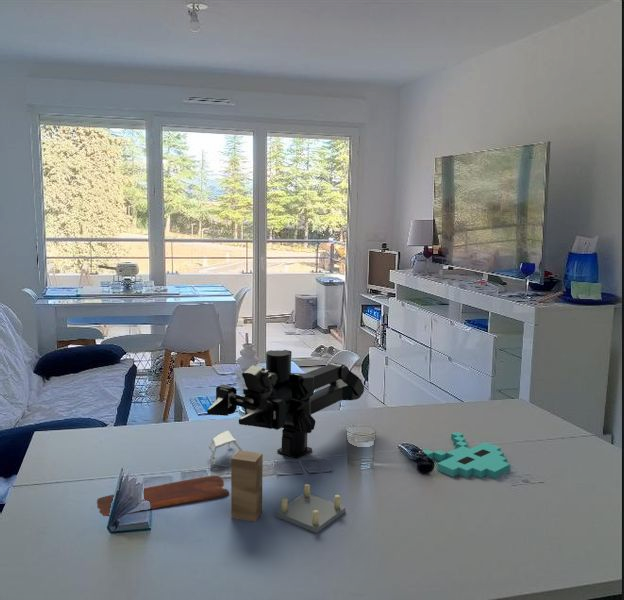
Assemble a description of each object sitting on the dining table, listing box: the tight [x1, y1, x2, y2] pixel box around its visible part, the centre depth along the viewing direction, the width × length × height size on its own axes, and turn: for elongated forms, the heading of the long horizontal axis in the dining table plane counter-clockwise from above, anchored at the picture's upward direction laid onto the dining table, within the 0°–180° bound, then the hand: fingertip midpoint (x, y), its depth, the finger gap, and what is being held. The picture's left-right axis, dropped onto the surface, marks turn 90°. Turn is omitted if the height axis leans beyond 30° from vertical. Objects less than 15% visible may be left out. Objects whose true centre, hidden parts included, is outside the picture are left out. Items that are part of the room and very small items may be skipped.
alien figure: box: [422, 431, 511, 480], centre depth 148 cm, size 20×2×20 cm
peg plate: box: [275, 483, 346, 534], centre depth 121 cm, size 10×10×4 cm
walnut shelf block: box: [230, 449, 264, 523], centre depth 120 cm, size 4×5×12 cm
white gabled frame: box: [208, 430, 244, 465], centre depth 148 cm, size 12×8×5 cm
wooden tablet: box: [96, 475, 230, 517], centre depth 128 cm, size 27×10×2 cm, turn 113°
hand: (223, 416), depth 128 cm, fingers open, 9 cm apart
